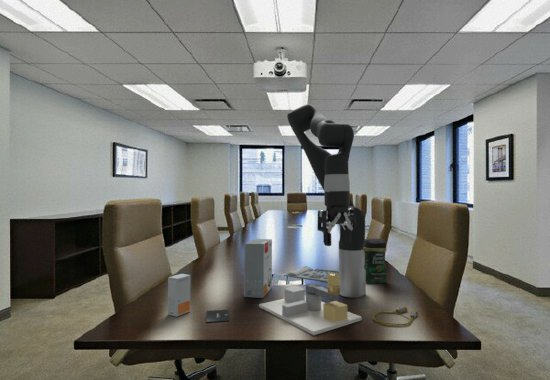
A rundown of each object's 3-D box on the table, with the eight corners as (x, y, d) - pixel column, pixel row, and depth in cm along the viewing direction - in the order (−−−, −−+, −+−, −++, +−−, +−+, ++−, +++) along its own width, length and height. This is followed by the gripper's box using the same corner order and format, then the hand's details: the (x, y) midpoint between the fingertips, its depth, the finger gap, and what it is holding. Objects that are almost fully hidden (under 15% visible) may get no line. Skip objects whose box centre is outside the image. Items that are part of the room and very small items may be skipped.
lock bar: (302, 290, 111) (302, 267, 111) (314, 288, 113) (314, 266, 113) (331, 302, 98) (330, 276, 99) (344, 299, 101) (343, 274, 101)
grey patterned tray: (283, 272, 158) (303, 264, 175) (283, 277, 158) (303, 269, 175) (329, 277, 146) (346, 268, 162) (329, 283, 146) (346, 274, 162)
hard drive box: (263, 298, 124) (263, 244, 124) (243, 297, 125) (243, 243, 125) (272, 287, 139) (272, 238, 139) (254, 286, 140) (254, 238, 141)
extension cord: (432, 325, 99) (432, 318, 99) (384, 330, 96) (384, 323, 96) (407, 311, 111) (407, 305, 111) (363, 315, 108) (363, 309, 108)
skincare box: (176, 317, 106) (176, 278, 106) (167, 314, 108) (167, 277, 108) (191, 311, 111) (191, 274, 111) (182, 309, 113) (181, 273, 113)
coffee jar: (367, 284, 142) (366, 240, 142) (361, 279, 150) (360, 237, 150) (389, 283, 143) (389, 239, 143) (382, 279, 151) (381, 237, 151)
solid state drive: (228, 311, 112) (228, 309, 112) (229, 322, 102) (229, 320, 102) (206, 312, 111) (206, 310, 111) (205, 324, 101) (205, 322, 101)
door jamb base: (303, 297, 125) (302, 280, 125) (361, 320, 102) (361, 300, 102) (259, 307, 115) (259, 289, 115) (313, 335, 91) (313, 313, 92)
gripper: (343, 190, 109) (344, 240, 109) (310, 190, 100) (311, 245, 100) (362, 189, 103) (363, 243, 102) (328, 189, 94) (330, 248, 94)
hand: (338, 244), depth 101 cm, fingers open, 8 cm apart
